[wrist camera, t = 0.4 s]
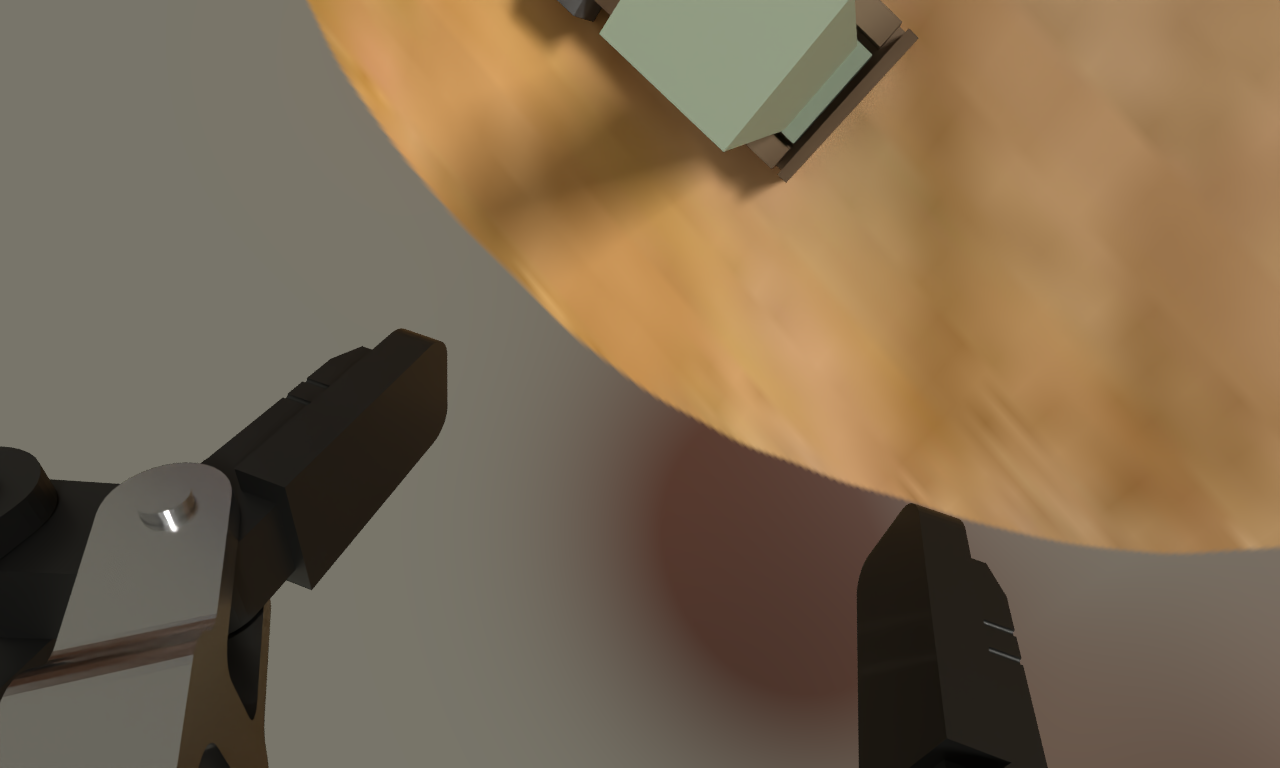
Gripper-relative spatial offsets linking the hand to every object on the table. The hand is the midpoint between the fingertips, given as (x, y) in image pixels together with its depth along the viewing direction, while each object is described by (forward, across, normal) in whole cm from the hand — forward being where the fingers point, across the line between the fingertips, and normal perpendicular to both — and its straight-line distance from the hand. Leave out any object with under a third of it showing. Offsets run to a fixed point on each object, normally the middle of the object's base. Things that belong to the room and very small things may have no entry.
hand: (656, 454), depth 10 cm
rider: (+28, 0, -2) cm, 28 cm away
